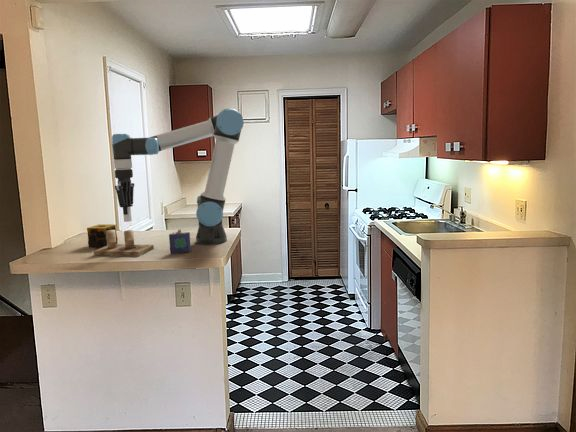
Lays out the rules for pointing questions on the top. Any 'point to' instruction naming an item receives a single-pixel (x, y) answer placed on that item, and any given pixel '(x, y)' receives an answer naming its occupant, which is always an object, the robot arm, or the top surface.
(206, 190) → the robot arm
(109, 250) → the seat board
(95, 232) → the black and yellow cube
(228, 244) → the top surface
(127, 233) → the oak leg
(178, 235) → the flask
